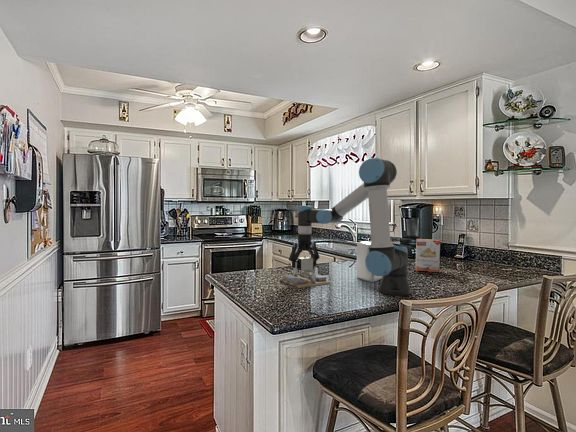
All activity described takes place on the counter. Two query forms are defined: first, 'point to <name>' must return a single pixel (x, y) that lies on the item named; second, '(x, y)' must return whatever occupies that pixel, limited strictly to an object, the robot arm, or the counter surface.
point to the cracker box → (427, 255)
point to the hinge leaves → (297, 280)
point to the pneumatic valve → (305, 266)
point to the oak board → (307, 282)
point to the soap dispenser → (361, 266)
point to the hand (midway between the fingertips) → (304, 272)
